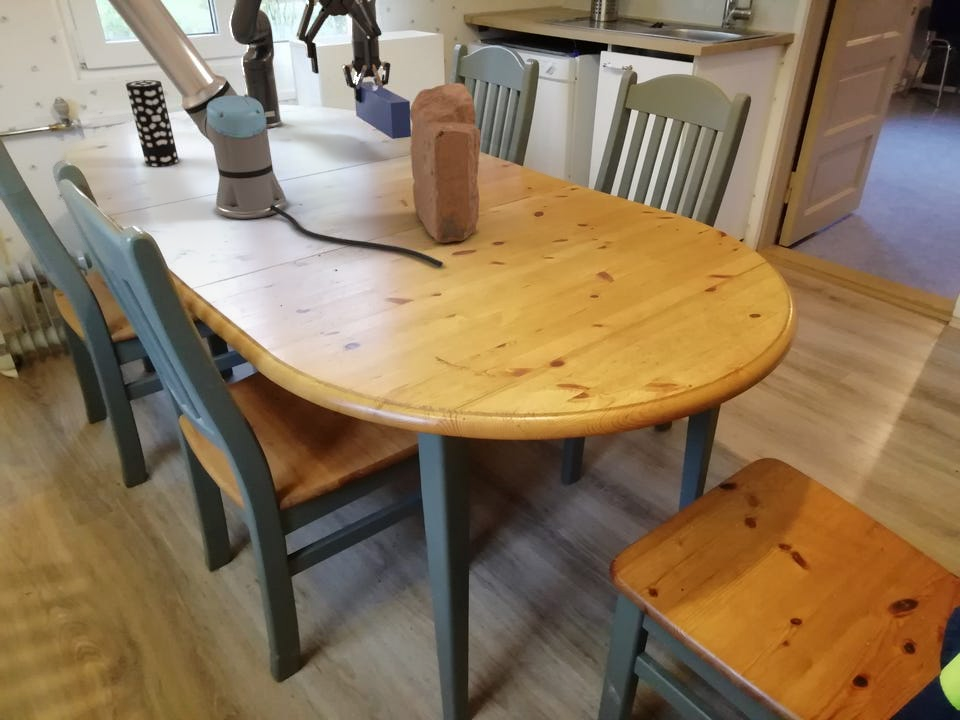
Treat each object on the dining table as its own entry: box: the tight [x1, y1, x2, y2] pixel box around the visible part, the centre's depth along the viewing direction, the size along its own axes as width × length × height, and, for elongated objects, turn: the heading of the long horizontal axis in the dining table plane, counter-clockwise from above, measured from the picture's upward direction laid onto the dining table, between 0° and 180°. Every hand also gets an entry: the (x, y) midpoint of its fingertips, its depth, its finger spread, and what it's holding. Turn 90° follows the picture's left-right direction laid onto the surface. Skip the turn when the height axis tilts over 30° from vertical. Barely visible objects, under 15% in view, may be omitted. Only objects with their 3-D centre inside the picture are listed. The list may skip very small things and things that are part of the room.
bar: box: [354, 81, 412, 140], centre depth 194 cm, size 28×5×9 cm, turn 29°
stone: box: [410, 82, 482, 244], centre depth 143 cm, size 22×11×28 cm, turn 18°
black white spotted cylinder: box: [125, 79, 179, 167], centre depth 181 cm, size 8×8×20 cm
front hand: (342, 70), depth 167 cm, fingers open, 13 cm apart
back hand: (368, 101), depth 201 cm, fingers closed on bar, 5 cm apart
